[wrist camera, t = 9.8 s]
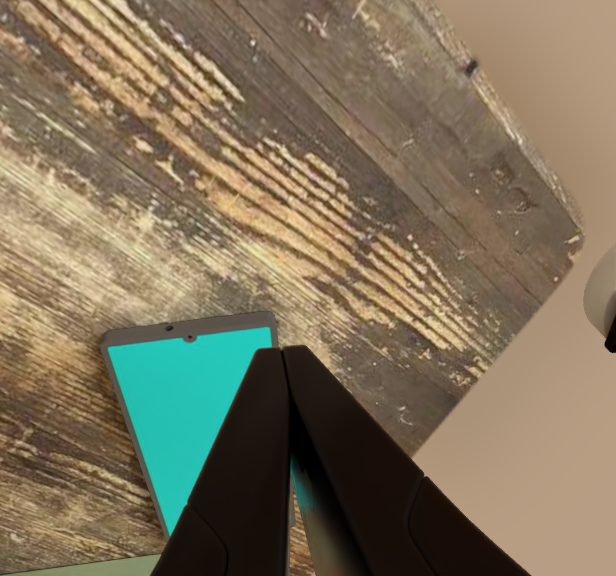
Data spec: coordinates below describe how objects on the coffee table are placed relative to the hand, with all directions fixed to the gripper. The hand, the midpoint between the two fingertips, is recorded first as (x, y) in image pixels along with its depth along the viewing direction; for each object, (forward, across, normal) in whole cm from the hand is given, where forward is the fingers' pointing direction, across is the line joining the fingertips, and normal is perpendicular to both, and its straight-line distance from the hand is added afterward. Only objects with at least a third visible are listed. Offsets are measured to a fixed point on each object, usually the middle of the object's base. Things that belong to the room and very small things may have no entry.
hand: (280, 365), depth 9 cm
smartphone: (+12, +2, +15) cm, 19 cm away
